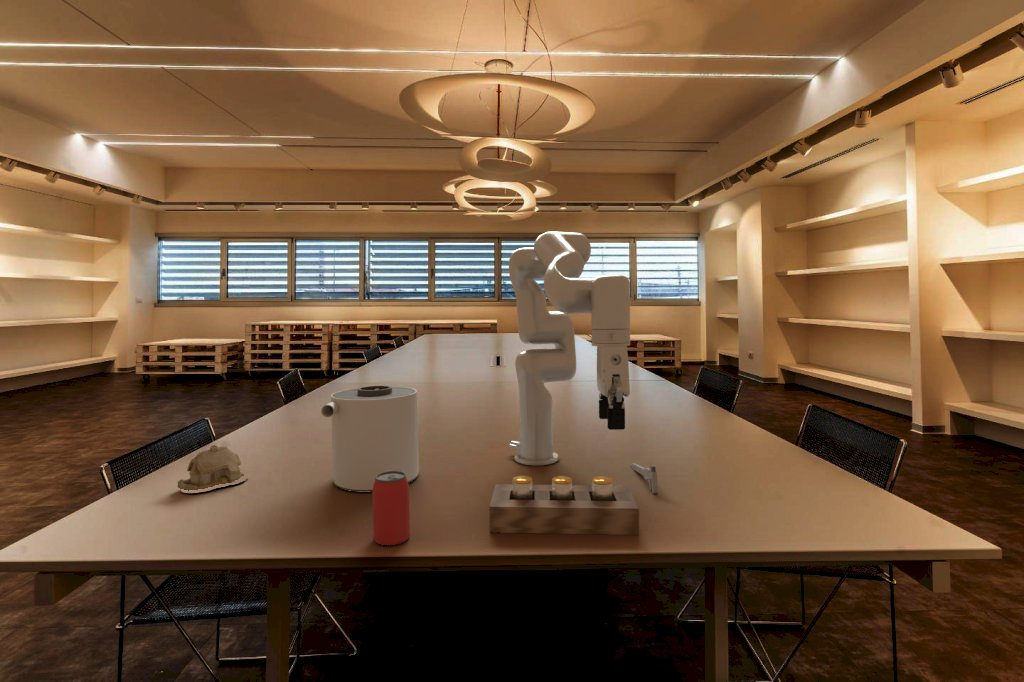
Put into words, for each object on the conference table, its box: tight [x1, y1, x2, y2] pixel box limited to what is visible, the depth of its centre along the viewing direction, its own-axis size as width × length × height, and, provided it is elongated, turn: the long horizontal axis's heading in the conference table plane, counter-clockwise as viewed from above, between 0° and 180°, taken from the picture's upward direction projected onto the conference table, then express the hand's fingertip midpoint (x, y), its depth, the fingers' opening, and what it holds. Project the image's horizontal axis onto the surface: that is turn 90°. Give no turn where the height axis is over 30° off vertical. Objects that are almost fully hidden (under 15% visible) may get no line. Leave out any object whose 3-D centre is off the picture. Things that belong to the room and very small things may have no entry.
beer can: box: [371, 471, 411, 547], centre depth 88 cm, size 7×7×12 cm
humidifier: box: [320, 385, 420, 491], centre depth 120 cm, size 22×21×23 cm
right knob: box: [591, 475, 613, 501], centre depth 95 cm, size 4×4×5 cm
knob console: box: [489, 483, 640, 536], centre depth 95 cm, size 28×12×5 cm, turn 86°
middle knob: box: [551, 475, 573, 501], centre depth 95 cm, size 4×4×5 cm
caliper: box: [630, 462, 658, 494], centre depth 118 cm, size 20×1×6 cm, turn 0°
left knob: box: [511, 475, 533, 500], centre depth 95 cm, size 4×4×5 cm
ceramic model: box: [177, 444, 244, 491], centre depth 118 cm, size 14×11×10 cm
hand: (611, 423), depth 95 cm, fingers open, 9 cm apart
